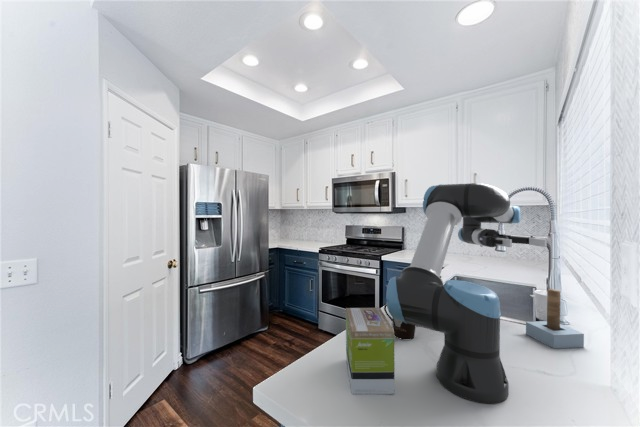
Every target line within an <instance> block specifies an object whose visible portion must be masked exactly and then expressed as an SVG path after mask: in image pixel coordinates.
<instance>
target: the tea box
mask: <svg viewBox="0 0 640 427" xmlns="http://www.w3.org/2000/svg"><path fill="white" fill-rule="evenodd" d="M395 339H396V338H395V335H394V329H393V326H391V324H390V322H389V320H388V318H387V317H386V315H385V314H384V311H383V310H382V309H381V307H345V349H346V350H345V359H346V365H347V366H346V367H347V372H348V377H349V384H350V385H349V386H350V390H351V394H352V395H395V387H396V386H395V383H396V382H395V381H396V379H395V378H396V377H395V366H396V365H395V364H396V363H395V362H396V361H395Z"/></svg>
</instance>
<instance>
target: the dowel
mask: <svg viewBox="0 0 640 427" xmlns="http://www.w3.org/2000/svg"><path fill="white" fill-rule="evenodd" d="M546 291H547V328H549V329H551V330H553V331H560V324H561V297H560V295H561V290H559V289H555V288H554V289H553V288H547V290H546Z"/></svg>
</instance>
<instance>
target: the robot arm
mask: <svg viewBox="0 0 640 427" xmlns="http://www.w3.org/2000/svg"><path fill="white" fill-rule="evenodd" d="M422 209H423V214H424V215H425V216H426V218H427V219H426V222H425V225H424V227H423V230H422V233H421V235H420V239H419V241H418V243H417V246H416V249H415V252H414V254H413V257H412V259H411V262H410V265H409V266H406V267H404V268H403V269H402V271H401V273H400V276H393V277H390V279H389V281H388V283H387V287H386V294H385V297H386V298H385V299H386V304H387V306H386V308H387V312H388V314H389V316H390V317H391V318H392V317H393V318H394V319H396V320H399V321H402V322H404V323H406V324H407V323H408V324H412V325H416V326H417V327H421V328H425V329H429V330H432V331H434V332H435V331H436V332H439V333H442V334H444V335H443V336H444V339H443V340H444V343H443V347H442V350H441V351H440V356H439V358H438V360H437V363H436V378H437V381H439V383H440V384H441V385H442V386H443V387H444V388H445V389H447V390H448V391H449V392H451V393H453V394H454V395H456V396H458V397H461V398H463V399H466V400H469V401H471V402H472V401H473V402H477V403H480V404H481V403H483V404H496V403H502V402H504V401H506V400H507V398H508V397H509V393H510V392H509V391H510V390H509V389H510V388H509V381H508V377H507V374H506V371H505V368H504V366H503V362H502V360H501V353H500V352H501V348H500V347H501V340H500V338H501V337H500V336H501V334H500V333H501V332H500V328H501V317H502V313H501V303H500V298H499V296H498V294H497V293H496V292H495V291H494V290H492V289H490V288H489V287H486V286H483V285H482V284H478V283H475V282H470V281H467V280H458V279H448V280H446V281H445V283H444V282H443V279H442V277H441V278H440V276H441V274H442V270H443V266H444V263H445V260H446V256H447V252H448V250H449V247H450V242H451V238H452V235H453V231H454V229H455V226H457V225H459V223H460V222H461V221H462V227H461V228H459V230H458V232H457V237H458V239H459V240H460V241H461V242H462V243H466V244H469V245H470V244H472V245H477V246H480V247H481V248H482V247H487V248H488V247H489V248H495V247H497V246H500V247H501V246H502V247H507V248H512V246H513V244H521V245H529V246H535V247H543V248H547V247H548V246H547V244H548V241H547V239H545V238H536V237H533V235H530V236H528V237H527V236H515V235H514V236H513V235H508V234H501V233H500V232H498V231H497V230H496V229H491V228H484V227H483V228H482V224H483V223H484V224H487V223H489V224H510V225H512V224H519V223H520V222H521V208H520V206H518V205H517V206H516V205H511V201H510V197H509V196H508V194H507V193H506V192H505V191H503V190H502V189H500V188H499V187H496V186H493V185H490V184H485V183H479V182H473V183H472V182H470V183H455V184H454V183H451V184H448V183H447V184H443V183H442V184H437V185H431V186H429V187H428V188H427V189H426V191H425V193H424V195H423V201H422ZM499 222H500V223H499Z"/></svg>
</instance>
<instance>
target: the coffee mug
mask: <svg viewBox="0 0 640 427" xmlns="http://www.w3.org/2000/svg"><path fill="white" fill-rule="evenodd" d="M383 309H384V311H383V312H384V313H385V314H386V316H387V317H388V318H389V320H390V321H391V322H392V329H393V330H394V337H395V336H396V337H395V338H397V337H398V338H397V339H399V338H401V339H400V340H403V339H411V340H413V339H414V338H415V333H416V325H412V324H408V323H407V324H406V323H404V322H402V321H399V320H396V319H394V318H393V317H392V316H391V315H390V314H389V312H388V310H387V303H386V304H384V307H383Z"/></svg>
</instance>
